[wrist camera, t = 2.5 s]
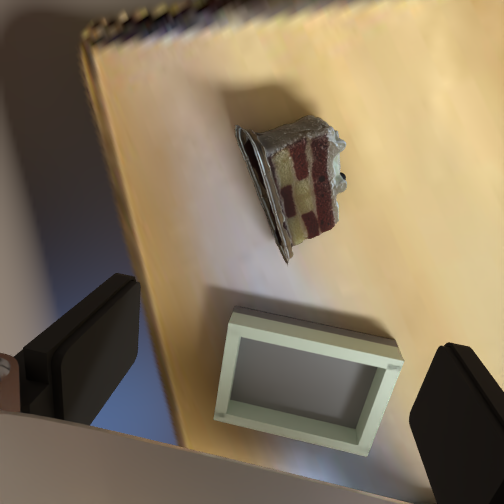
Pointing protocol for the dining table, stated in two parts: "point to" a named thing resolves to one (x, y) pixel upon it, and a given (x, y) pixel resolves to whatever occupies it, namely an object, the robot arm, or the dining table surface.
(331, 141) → the cake slice
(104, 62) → the dining table surface
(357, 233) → the dining table surface
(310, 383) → the serving tray
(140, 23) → the dining table surface
